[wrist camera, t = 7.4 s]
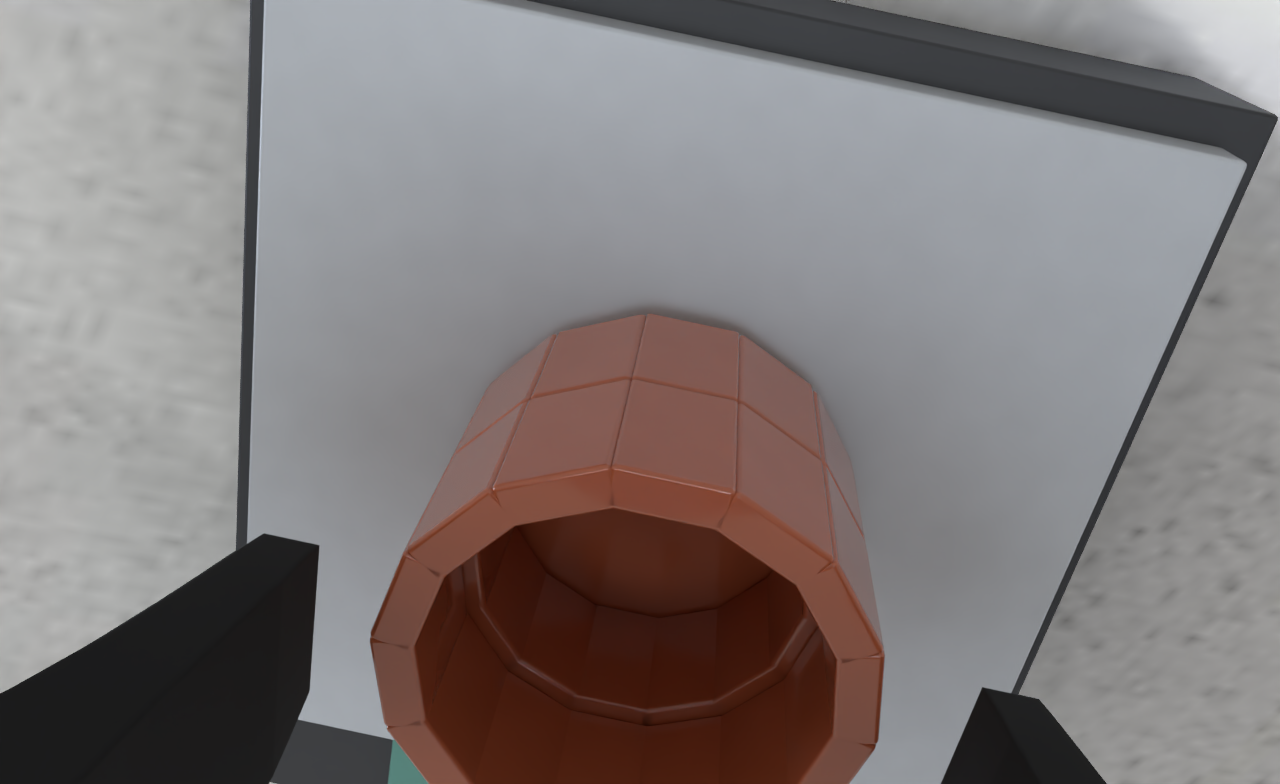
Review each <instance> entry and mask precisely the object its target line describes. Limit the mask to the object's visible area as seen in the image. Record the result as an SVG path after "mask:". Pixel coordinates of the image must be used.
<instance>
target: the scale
mask: <svg viewBox="0 0 1280 784" xmlns="http://www.w3.org/2000/svg"><path fill="white" fill-rule="evenodd" d="M1277 120H1278V117H1277V116H1276V115H1275V114H1272V113H1270V112H1268V111H1266V110H1264V109H1262V108H1259V107H1257V106H1255V105H1253V104H1251V103H1249V102H1246V101H1244V100H1242V99H1240V98H1238V97H1236V96H1233V95H1231V94H1229V93H1227V92H1225V91H1223V90H1220V89H1218V88H1216V87H1214V86H1212V85H1210V84H1207V83H1205V82H1203V81H1201V80H1199V79H1197V78H1194V77H1189V76H1185V75H1180V74H1175V73H1171V72H1166V71H1161V70H1156V69H1152V68H1147V67H1142V66H1138V65H1133V64H1128V63H1123V62H1119V61H1114V60H1109V59H1105V58H1100V57H1095V56H1090V55H1086V54H1081V53H1076V52H1072V51H1067V50H1062V49H1057V48H1053V47H1048V46H1043V45H1039V44H1034V43H1029V42H1024V41H1020V40H1015V39H1010V38H1006V37H1001V36H996V35H991V34H987V33H982V32H977V31H973V30H968V29H963V28H958V27H954V26H949V25H944V24H940V23H935V22H930V21H925V20H921V19H916V18H911V17H907V16H902V15H897V14H892V13H888V12H883V11H878V10H874V9H869V8H864V7H859V6H855V5H850V4H845V3H841V2H836V1H831V0H250V37H249V75H248V114H247V152H246V190H245V229H244V267H243V305H242V344H241V382H240V420H239V459H238V497H237V535H236V550H238V549H239V548H241V547H243V546H244V545H246V544H247V543H249V542H251V541H252V540H254V539H255V538H257V537H259V536H260V535H262V534H264V533H265V534H270V535H274V536H279V537H284V538H288V539H293V540H298V541H302V542H307V543H312V544H316V545H320V546H319V561H318V575H317V590H316V605H315V619H314V634H313V649H312V663H311V678H310V692H309V694H308V696H307V699H306V701H305V703H304V706H303V708H302V711H301V713H300V715H299V718H298V720H297V722H296V725H295V727H294V729H293V732H292V734H291V737H290V739H289V741H288V743H287V746H286V748H285V750H284V752H283V755H282V757H281V759H280V761H279V764H278V766H277V768H276V770H275V772H274V775H273V777H272V779H271V780H270V782H272V783H277V784H428V783H427V781H426V780H425V779H424V777H423V776H422V775H421V774H420V772H419V771H418V770H417V768H416V767H415V766H414V764H413V763H412V762H411V761H410V759H409V758H408V757H407V755H406V754H405V753H404V752H403V750H402V749H401V748H400V746H399V745H398V744H397V742H396V741H395V740H394V739H393V737H392V736H391V735H390V733H389V732H388V731H387V726H386V725H385V724H384V719H383V713H382V708H381V702H380V697H379V691H378V686H377V680H376V674H375V669H374V663H373V658H372V652H371V647H370V637H371V633H370V631H371V628H372V626H373V624H374V621H375V619H376V616H377V614H378V611H379V609H380V606H381V604H382V602H383V599H384V597H385V594H386V592H387V589H388V587H389V584H390V582H391V580H392V577H393V575H394V572H395V570H396V567H397V565H398V562H399V560H400V557H401V555H402V553H403V551H404V549H405V547H406V545H407V543H408V541H409V539H410V537H411V535H412V533H413V531H414V529H415V527H416V525H417V523H418V521H419V519H420V517H421V516H422V514H423V512H424V510H425V508H426V506H427V504H428V502H429V500H430V498H431V496H432V494H433V492H434V490H435V488H436V486H437V484H438V482H439V480H440V478H441V476H442V474H443V472H444V470H445V468H446V467H447V465H448V463H449V461H450V459H451V457H452V455H453V453H454V451H455V449H456V447H457V445H458V443H459V441H460V439H461V437H462V435H463V433H464V431H465V429H466V427H467V425H468V423H469V422H470V420H471V418H472V416H473V414H474V412H475V410H476V408H477V406H478V404H479V402H480V400H481V398H482V396H483V394H484V392H485V390H486V389H487V388H488V387H489V385H490V383H491V382H493V381H494V380H495V379H496V378H498V377H499V376H500V375H501V374H503V373H504V372H505V371H507V370H508V369H509V368H510V367H512V366H513V365H514V364H515V363H517V362H518V361H519V360H520V359H522V358H523V357H524V356H525V355H527V354H528V353H529V352H531V351H532V350H533V349H534V348H536V347H537V346H538V345H539V344H541V343H542V342H543V341H544V340H546V339H547V338H548V337H550V336H551V335H553V334H556V335H557V334H558V333H559V332H561V331H566V330H570V329H575V328H580V327H584V326H589V325H594V324H598V323H603V322H607V321H612V320H617V319H621V318H626V317H631V316H635V315H640V314H642V315H645V316H646V315H647V314H656V315H660V316H665V317H670V318H674V319H679V320H684V321H689V322H693V323H698V324H703V325H707V326H712V327H717V328H722V329H726V330H731V331H736V332H738V333H739V335H743V336H746V337H747V338H748V339H750V340H751V341H752V342H754V343H755V344H756V345H758V346H759V347H760V348H762V349H763V350H764V351H766V352H767V353H769V354H770V355H771V356H773V357H774V358H775V359H777V360H778V361H779V362H781V363H782V364H783V365H785V366H786V367H787V368H789V369H790V370H792V371H793V372H794V373H796V374H797V375H798V376H800V377H801V378H802V379H804V380H805V381H806V382H808V383H809V384H811V386H812V388H813V390H814V391H815V392H816V393H817V394H818V395H819V397H820V399H821V401H822V403H823V405H824V407H825V409H826V411H827V413H828V415H829V417H830V419H831V421H832V423H833V425H834V427H835V429H836V431H837V433H838V435H839V437H840V439H841V441H842V443H843V445H844V447H845V449H846V451H847V453H848V455H849V457H850V459H851V465H852V467H853V472H854V478H855V484H856V489H857V495H858V501H859V507H860V513H861V518H862V524H863V530H864V536H865V542H866V549H867V552H868V558H869V564H870V570H871V575H872V581H873V587H874V593H875V598H876V604H877V610H878V616H879V622H880V627H881V633H882V639H883V645H884V650H885V667H884V680H883V693H882V706H881V719H880V732H879V740H878V742H877V744H876V748H875V750H874V751H873V753H872V754H871V755H870V757H869V758H868V759H867V761H866V762H865V763H864V765H863V766H862V767H861V769H860V770H859V772H858V773H857V774H856V776H855V777H854V778H853V780H852V781H851V782H850V784H941V782H942V780H943V777H944V775H945V773H946V770H947V768H948V766H949V763H950V761H951V759H952V756H953V754H954V752H955V749H956V747H957V745H958V742H959V740H960V738H961V735H962V733H963V731H964V728H965V726H966V724H967V722H968V719H969V717H970V715H971V712H972V710H973V708H974V705H975V703H976V701H977V698H978V696H979V694H980V691H981V689H982V687H984V688H989V689H993V690H998V691H1003V692H1007V693H1012V694H1017V695H1018V694H1019V691H1020V689H1021V687H1022V685H1023V683H1024V680H1025V678H1026V676H1027V674H1028V671H1029V669H1030V667H1031V665H1032V663H1033V660H1034V658H1035V656H1036V654H1037V652H1038V649H1039V647H1040V645H1041V643H1042V640H1043V638H1044V636H1045V634H1046V632H1047V629H1048V627H1049V625H1050V623H1051V621H1052V618H1053V616H1054V614H1055V612H1056V610H1057V607H1058V605H1059V603H1060V601H1061V598H1062V596H1063V594H1064V592H1065V590H1066V587H1067V585H1068V583H1069V581H1070V579H1071V576H1072V574H1073V572H1074V570H1075V567H1076V565H1077V563H1078V561H1079V559H1080V556H1081V554H1082V552H1083V550H1084V548H1085V545H1086V543H1087V541H1088V539H1089V536H1090V534H1091V532H1092V530H1093V528H1094V525H1095V523H1096V521H1097V519H1098V517H1099V514H1100V512H1101V510H1102V508H1103V505H1104V503H1105V501H1106V499H1107V497H1108V494H1109V492H1110V490H1111V488H1112V486H1113V483H1114V481H1115V479H1116V477H1117V474H1118V472H1119V470H1120V468H1121V466H1122V463H1123V461H1124V459H1125V457H1126V455H1127V452H1128V450H1129V448H1130V446H1131V444H1132V441H1133V439H1134V437H1135V435H1136V432H1137V430H1138V428H1139V426H1140V424H1141V421H1142V419H1143V417H1144V415H1145V413H1146V410H1147V408H1148V406H1149V404H1150V401H1151V399H1152V397H1153V395H1154V393H1155V390H1156V388H1157V386H1158V384H1159V382H1160V379H1161V377H1162V375H1163V373H1164V370H1165V368H1166V366H1167V364H1168V362H1169V359H1170V357H1171V355H1172V353H1173V351H1174V348H1175V346H1176V344H1177V342H1178V339H1179V337H1180V335H1181V333H1182V331H1183V328H1184V326H1185V324H1186V322H1187V320H1188V317H1189V315H1190V313H1191V311H1192V309H1193V306H1194V304H1195V302H1196V300H1197V297H1198V295H1199V293H1200V291H1201V289H1202V286H1203V284H1204V282H1205V280H1206V278H1207V275H1208V273H1209V271H1210V269H1211V266H1212V264H1213V262H1214V260H1215V258H1216V255H1217V253H1218V251H1219V249H1220V247H1221V244H1222V242H1223V240H1224V238H1225V235H1226V233H1227V231H1228V229H1229V227H1230V224H1231V222H1232V220H1233V218H1234V216H1235V213H1236V211H1237V209H1238V207H1239V204H1240V202H1241V200H1242V198H1243V196H1244V193H1245V191H1246V189H1247V187H1248V185H1249V182H1250V180H1251V178H1252V176H1253V173H1254V171H1255V169H1256V167H1257V165H1258V162H1259V160H1260V158H1261V156H1262V154H1263V151H1264V149H1265V147H1266V145H1267V143H1268V140H1269V138H1270V136H1271V134H1272V131H1273V129H1274V127H1275V125H1276V123H1277Z"/></svg>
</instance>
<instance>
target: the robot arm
mask: <svg viewBox="0 0 1280 784" xmlns="http://www.w3.org/2000/svg"><path fill="white" fill-rule="evenodd" d="M319 546H320V545H316V544H312V543H307V542H302V541H298V540H293V539H288V538H284V537H279V536H274V535H270V534H265V533H264V534H262V535H260V536H259V537H257V538H255V539H254V540H252V541H251V542H249V543H247V544H246V545H244V546H243V547H241V548H239V549H238V550H236V551H235V552H233V553H232V554H230V555H229V556H227V557H225V558H224V559H222V560H221V561H219V562H218V563H216V564H215V565H213V566H212V567H210V568H209V569H207V570H206V571H204V572H203V573H201V574H200V575H198V576H197V577H195V578H194V579H192V580H190V581H189V582H187V583H186V584H184V585H183V586H181V587H180V588H178V589H177V590H175V591H174V592H172V593H170V594H169V595H167V596H166V597H164V598H163V599H161V600H160V601H158V602H157V603H155V604H153V605H152V606H150V607H148V608H147V609H145V610H144V611H142V612H140V613H139V614H137V615H136V616H134V617H132V618H131V619H129V620H128V621H126V622H124V623H123V624H121V625H120V626H118V627H116V628H115V629H113V630H111V631H110V632H108V633H107V634H105V635H103V636H102V637H100V638H99V639H97V640H95V641H94V642H92V643H90V644H88V645H87V646H85V647H83V648H82V649H80V650H78V651H76V652H75V653H73V654H71V655H69V656H67V657H66V658H64V659H62V660H60V661H59V662H57V663H55V664H53V665H51V666H50V667H48V668H46V669H44V670H43V671H41V672H39V673H37V674H35V675H34V676H32V677H30V678H28V679H27V680H25V681H23V682H21V683H19V684H18V685H16V686H14V687H12V688H10V689H9V690H7V691H5V692H3V693H1V694H0V784H269V782H270V780H271V779H272V777H273V775H274V772H275V770H276V768H277V766H278V764H279V761H280V759H281V757H282V755H283V752H284V750H285V748H286V746H287V743H288V741H289V739H290V737H291V734H292V732H293V729H294V727H295V725H296V722H297V720H298V718H299V715H300V713H301V711H302V708H303V706H304V703H305V701H306V699H307V696H308V694H309V692H310V678H311V663H312V649H313V634H314V619H315V605H316V590H317V575H318V561H319ZM941 784H1106V782H1105V781H1104V780H1103V779H1102V777H1101V776H1100V775H1099V774H1098V772H1097V771H1096V770H1095V768H1094V767H1093V766H1092V765H1091V763H1090V762H1089V761H1088V759H1087V758H1086V757H1085V756H1084V754H1083V753H1082V752H1081V751H1080V749H1079V748H1078V747H1077V745H1076V744H1075V743H1074V742H1073V740H1072V739H1071V738H1070V737H1069V735H1068V734H1067V733H1066V732H1065V730H1064V729H1063V728H1062V726H1061V725H1060V724H1059V723H1058V722H1057V720H1056V719H1055V718H1054V717H1053V715H1052V714H1051V713H1050V712H1049V711H1048V709H1047V708H1046V707H1045V706H1044V705H1043V704H1042V702H1041V701H1040V700H1039V699H1035V698H1031V697H1026V696H1021V695H1017V694H1012V693H1007V692H1003V691H998V690H993V689H989V688H984V687H982V689H981V691H980V694H979V696H978V698H977V701H976V703H975V705H974V708H973V710H972V712H971V715H970V717H969V719H968V722H967V724H966V726H965V728H964V731H963V733H962V735H961V738H960V740H959V742H958V745H957V747H956V749H955V752H954V754H953V756H952V759H951V761H950V763H949V766H948V768H947V770H946V773H945V775H944V777H943V780H942V782H941Z"/></svg>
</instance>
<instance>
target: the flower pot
mask: <svg viewBox="0 0 1280 784" xmlns="http://www.w3.org/2000/svg"><path fill="white" fill-rule="evenodd" d="M370 633H371V637H370V647H371V652H372V658H373V663H374V669H375V674H376V680H377V686H378V691H379V697H380V702H381V708H382V713H383V719H384V724H385V725H386V726H387V731H388V732H389V733H390V735H391V736H392V737H393V739H394V740H395V741H396V742H397V744H398V745H399V746H400V748H401V749H402V750H403V752H404V753H405V754H406V755H407V757H408V758H409V759H410V761H411V762H412V763H413V764H414V766H415V767H416V768H417V770H418V771H419V772H420V774H421V775H422V776H423V777H424V779H425V780H426V781H427V783H428V784H850V782H851V781H852V780H853V778H854V777H855V776H856V774H857V773H858V772H859V770H860V769H861V767H862V766H863V765H864V763H865V762H866V761H867V759H868V758H869V757H870V755H871V754H872V753H873V751H874V750H875V748H876V744H877V742H878V740H879V732H880V719H881V706H882V693H883V680H884V667H885V650H884V645H883V639H882V633H881V627H880V622H879V616H878V610H877V604H876V598H875V593H874V587H873V581H872V575H871V570H870V564H869V558H868V552H867V549H866V542H865V536H864V530H863V524H862V518H861V513H860V507H859V501H858V495H857V489H856V484H855V478H854V472H853V467H852V465H851V459H850V457H849V455H848V453H847V451H846V449H845V447H844V445H843V443H842V441H841V439H840V437H839V435H838V433H837V431H836V429H835V427H834V425H833V423H832V421H831V419H830V417H829V415H828V413H827V411H826V409H825V407H824V405H823V403H822V401H821V399H820V397H819V395H818V394H817V393H816V392H815V391H814V390H813V388H812V386H811V384H809V383H808V382H806V381H805V380H804V379H802V378H801V377H800V376H798V375H797V374H796V373H794V372H793V371H792V370H790V369H789V368H787V367H786V366H785V365H783V364H782V363H781V362H779V361H778V360H777V359H775V358H774V357H773V356H771V355H770V354H769V353H767V352H766V351H764V350H763V349H762V348H760V347H759V346H758V345H756V344H755V343H754V342H752V341H751V340H750V339H748V338H747V337H746V336H743V335H739V333H738V332H736V331H731V330H726V329H722V328H717V327H712V326H707V325H703V324H698V323H693V322H689V321H684V320H679V319H674V318H670V317H665V316H660V315H656V314H647V315H646V316H645V315H642V314H640V315H635V316H631V317H626V318H621V319H617V320H612V321H607V322H603V323H598V324H594V325H589V326H584V327H580V328H575V329H570V330H566V331H561V332H559V333H558V334H557V335H556V334H553V335H551V336H550V337H548V338H547V339H546V340H544V341H543V342H542V343H541V344H539V345H538V346H537V347H536V348H534V349H533V350H532V351H531V352H529V353H528V354H527V355H525V356H524V357H523V358H522V359H520V360H519V361H518V362H517V363H515V364H514V365H513V366H512V367H510V368H509V369H508V370H507V371H505V372H504V373H503V374H501V375H500V376H499V377H498V378H496V379H495V380H494V381H493V382H491V383H490V385H489V387H488V388H487V389H486V390H485V392H484V394H483V396H482V398H481V400H480V402H479V404H478V406H477V408H476V410H475V412H474V414H473V416H472V418H471V420H470V422H469V423H468V425H467V427H466V429H465V431H464V433H463V435H462V437H461V439H460V441H459V443H458V445H457V447H456V449H455V451H454V453H453V455H452V457H451V459H450V461H449V463H448V465H447V467H446V468H445V470H444V472H443V474H442V476H441V478H440V480H439V482H438V484H437V486H436V488H435V490H434V492H433V494H432V496H431V498H430V500H429V502H428V504H427V506H426V508H425V510H424V512H423V514H422V516H421V517H420V519H419V521H418V523H417V525H416V527H415V529H414V531H413V533H412V535H411V537H410V539H409V541H408V543H407V545H406V547H405V549H404V551H403V553H402V555H401V557H400V560H399V562H398V565H397V567H396V570H395V572H394V575H393V577H392V580H391V582H390V584H389V587H388V589H387V592H386V594H385V597H384V599H383V602H382V604H381V606H380V609H379V611H378V614H377V616H376V619H375V621H374V624H373V626H372V628H371V631H370Z"/></svg>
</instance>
